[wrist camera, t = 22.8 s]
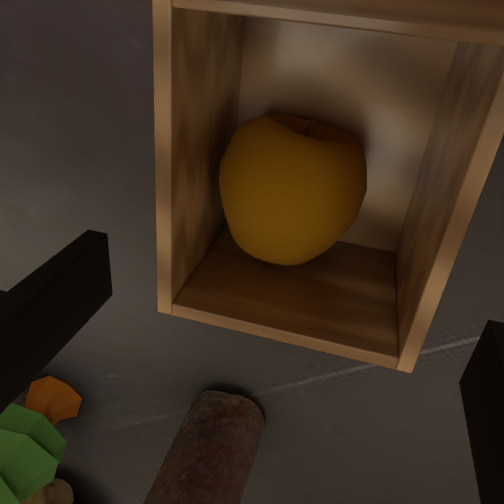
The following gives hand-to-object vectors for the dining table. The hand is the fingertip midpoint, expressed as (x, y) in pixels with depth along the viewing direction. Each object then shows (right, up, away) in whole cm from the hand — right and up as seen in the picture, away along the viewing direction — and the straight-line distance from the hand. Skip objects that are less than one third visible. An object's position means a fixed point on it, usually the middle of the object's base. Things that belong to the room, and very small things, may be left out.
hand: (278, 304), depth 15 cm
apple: (0, +1, +13) cm, 13 cm away
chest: (+4, +9, +14) cm, 17 cm away
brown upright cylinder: (-3, -14, +29) cm, 32 cm away
